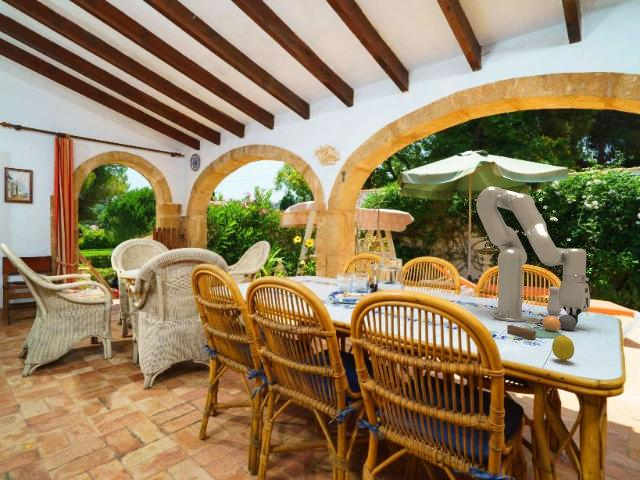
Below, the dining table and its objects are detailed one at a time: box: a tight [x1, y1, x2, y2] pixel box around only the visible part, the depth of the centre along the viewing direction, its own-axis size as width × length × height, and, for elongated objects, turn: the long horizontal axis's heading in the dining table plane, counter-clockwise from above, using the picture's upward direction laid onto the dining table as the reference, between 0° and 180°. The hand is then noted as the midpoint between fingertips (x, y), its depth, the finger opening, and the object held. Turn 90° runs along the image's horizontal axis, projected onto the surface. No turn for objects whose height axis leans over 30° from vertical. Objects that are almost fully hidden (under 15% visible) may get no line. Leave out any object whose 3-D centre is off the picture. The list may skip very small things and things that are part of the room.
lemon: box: [551, 334, 575, 362], centre depth 110 cm, size 6×6×8 cm
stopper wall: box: [506, 324, 537, 341], centre depth 136 cm, size 2×10×3 cm, turn 25°
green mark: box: [524, 327, 563, 339], centre depth 141 cm, size 14×14×1 cm
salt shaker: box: [546, 286, 562, 316], centre depth 174 cm, size 6×6×13 cm
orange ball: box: [542, 315, 561, 332], centre depth 143 cm, size 6×6×6 cm
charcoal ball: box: [558, 314, 577, 331], centre depth 146 cm, size 6×6×6 cm
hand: (572, 324), depth 149 cm, fingers closed
